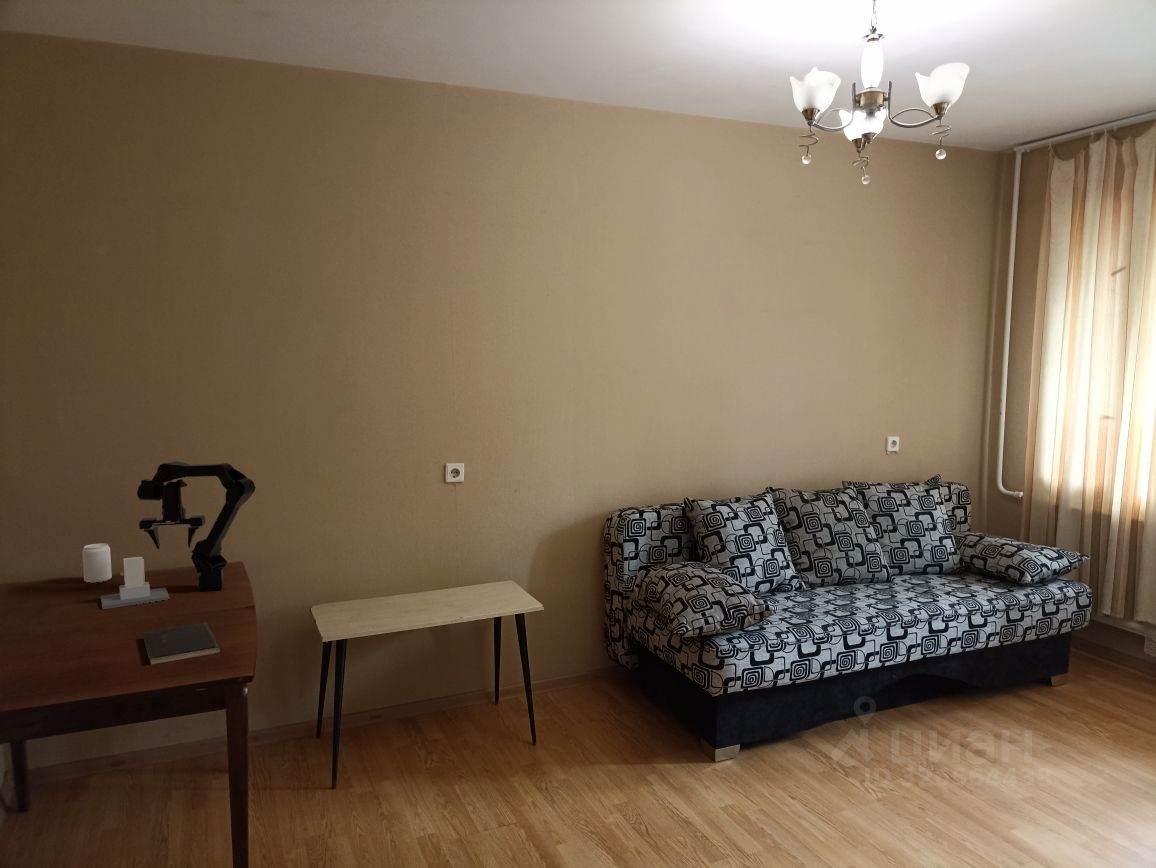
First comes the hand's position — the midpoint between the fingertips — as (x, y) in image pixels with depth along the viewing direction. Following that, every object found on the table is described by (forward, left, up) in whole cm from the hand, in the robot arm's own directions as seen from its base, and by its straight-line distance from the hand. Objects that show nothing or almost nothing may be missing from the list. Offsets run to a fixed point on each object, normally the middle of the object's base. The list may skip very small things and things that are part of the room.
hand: (174, 548), depth 266 cm
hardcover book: (-15, +62, -14) cm, 65 cm away
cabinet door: (+9, +12, -12) cm, 19 cm away
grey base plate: (+9, +12, -13) cm, 20 cm away
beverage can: (+28, -17, -13) cm, 35 cm away
